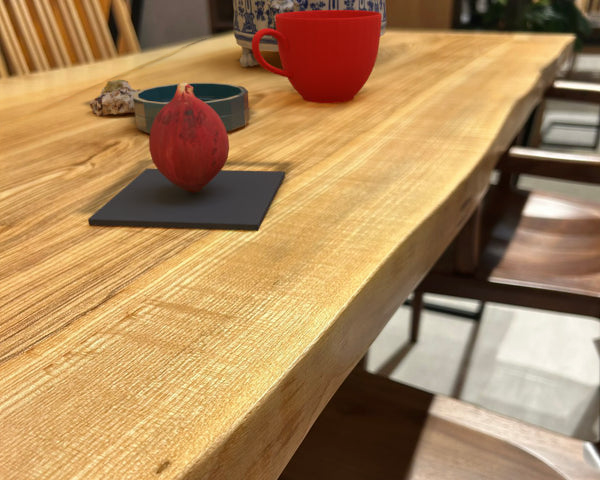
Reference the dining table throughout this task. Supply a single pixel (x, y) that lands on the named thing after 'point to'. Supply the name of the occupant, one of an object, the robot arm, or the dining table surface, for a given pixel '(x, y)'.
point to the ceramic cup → (324, 51)
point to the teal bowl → (218, 96)
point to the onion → (188, 141)
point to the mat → (193, 202)
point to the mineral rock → (114, 99)
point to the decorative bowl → (267, 3)
